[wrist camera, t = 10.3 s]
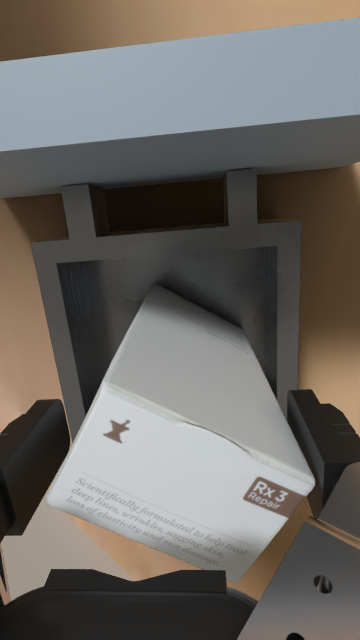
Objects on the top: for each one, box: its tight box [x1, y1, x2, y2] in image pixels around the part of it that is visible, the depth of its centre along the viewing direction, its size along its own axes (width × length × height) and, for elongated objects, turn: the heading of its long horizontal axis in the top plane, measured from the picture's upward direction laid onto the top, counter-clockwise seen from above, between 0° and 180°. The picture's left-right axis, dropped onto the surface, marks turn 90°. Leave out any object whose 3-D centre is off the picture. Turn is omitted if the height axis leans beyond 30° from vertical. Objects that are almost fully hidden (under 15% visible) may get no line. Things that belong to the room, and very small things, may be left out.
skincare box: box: [46, 284, 315, 583], centre depth 14 cm, size 6×4×12 cm
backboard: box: [0, 17, 360, 199], centre depth 12 cm, size 18×2×12 cm, turn 95°
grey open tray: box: [31, 168, 302, 442], centre depth 18 cm, size 12×14×4 cm
